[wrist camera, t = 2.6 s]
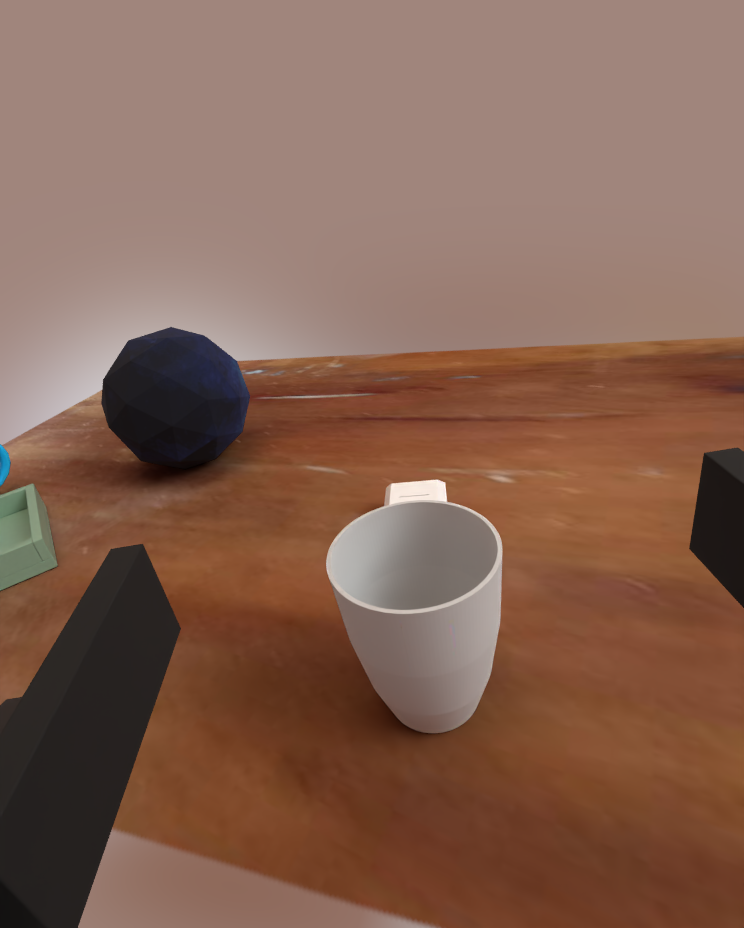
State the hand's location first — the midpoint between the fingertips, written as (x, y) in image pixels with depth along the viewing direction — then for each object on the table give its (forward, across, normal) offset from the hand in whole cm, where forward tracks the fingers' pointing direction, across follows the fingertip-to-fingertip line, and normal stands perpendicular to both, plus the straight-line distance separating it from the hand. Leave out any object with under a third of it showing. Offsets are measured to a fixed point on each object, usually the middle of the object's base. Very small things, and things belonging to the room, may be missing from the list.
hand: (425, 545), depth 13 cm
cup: (+10, 0, -18) cm, 20 cm away
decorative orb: (+45, -22, -18) cm, 53 cm away
